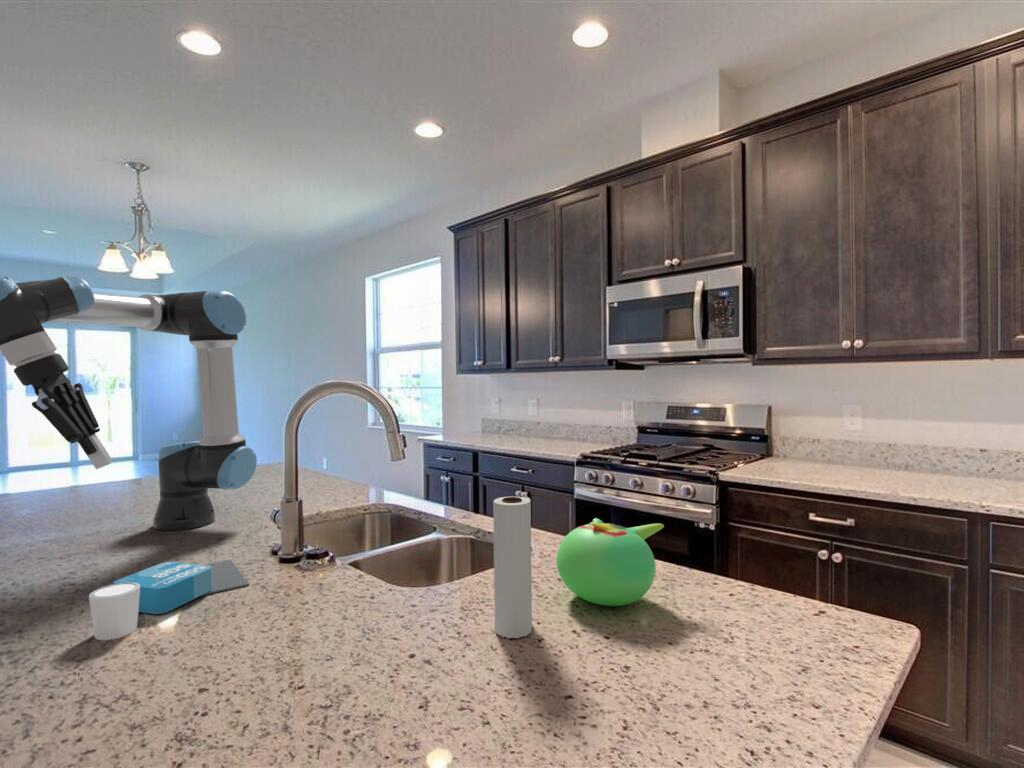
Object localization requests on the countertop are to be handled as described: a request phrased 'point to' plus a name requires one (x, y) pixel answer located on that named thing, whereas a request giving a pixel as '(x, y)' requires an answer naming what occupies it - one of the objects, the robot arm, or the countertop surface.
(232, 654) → the countertop surface
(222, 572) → the mat
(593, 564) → the green rounded piece
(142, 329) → the robot arm
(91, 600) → the white short cylinder
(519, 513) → the paper towel roll
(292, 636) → the countertop surface
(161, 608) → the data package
